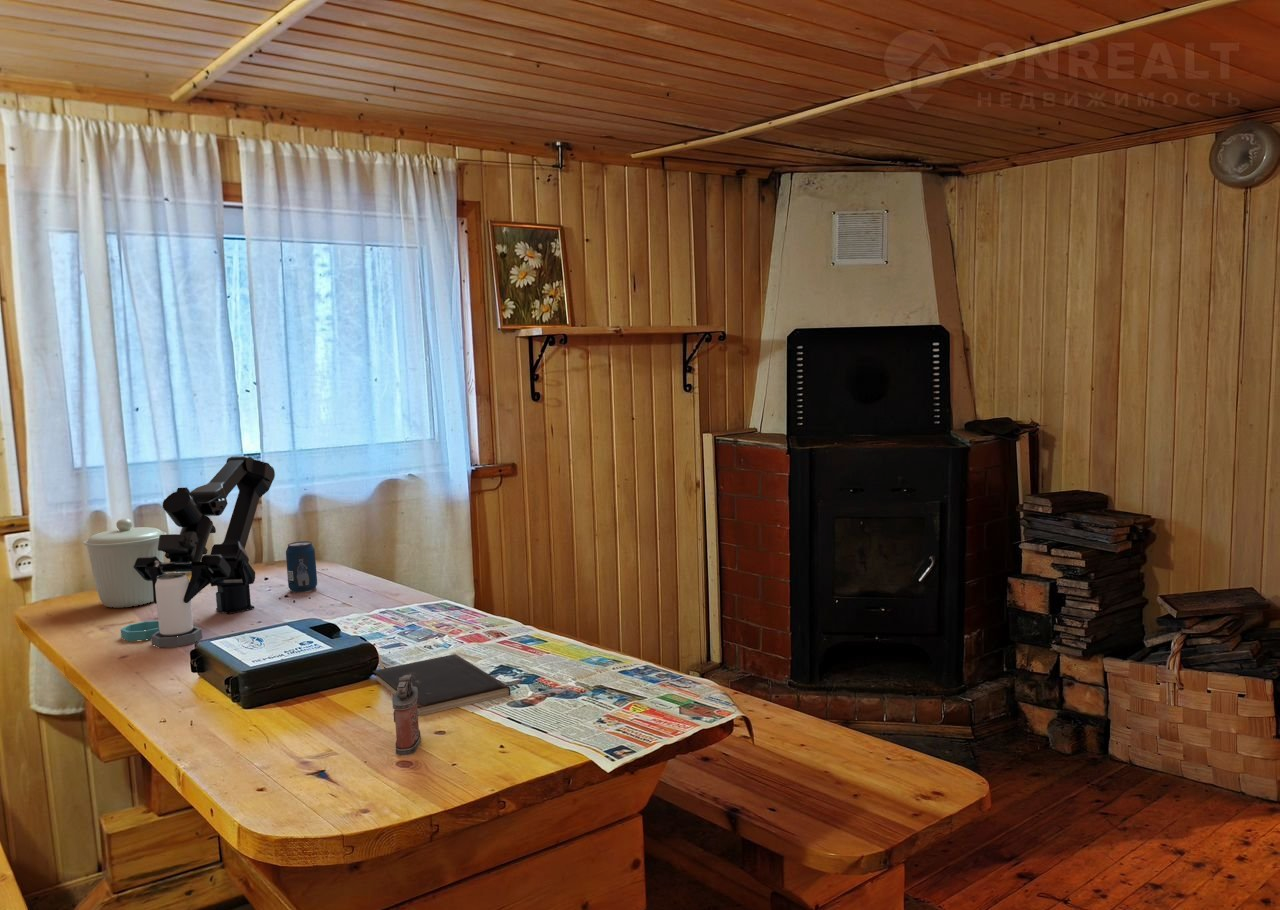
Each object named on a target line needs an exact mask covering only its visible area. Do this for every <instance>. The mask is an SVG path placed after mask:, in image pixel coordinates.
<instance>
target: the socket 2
mask: <svg viewBox="0 0 1280 910" xmlns="http://www.w3.org/2000/svg"><path fill="white" fill-rule="evenodd" d="M177 636H178V637H177ZM200 638H201V639H203V631H202V628H201V627H198V626H196V625H193V629H192V631H190V632H188V633H185V634H181V635H174V636H164V635H162V634H161V633H160V631H158V632H156V633H155V634H153V635H151V645H152V646H153V645H155V646H154V647H156V646H157V647H156V648H158V647H159V648H158V649H161V648H160V647H169V648H178V646H180V647H183V646H182V645H184V646H188V645H191V643H192V644H196V643H197V642H198V641H200V640H201V639H200ZM196 641H197V642H196ZM193 642H194V643H193ZM195 642H196V643H195ZM187 644H188V645H187Z"/></svg>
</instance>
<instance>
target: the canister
mask: <svg viewBox="0 0 1280 910" xmlns="http://www.w3.org/2000/svg"><path fill="white" fill-rule="evenodd" d="M115 525H116V528H115V529H111V530H105V531H102V532H98V533H95V534H92V535H91V536H90V537H89V538H88V539H86V540H84V541H83V544H84V546H86V547H87V553H88V558H89V562H90V565H91V570H92V574H93V579H94V583H95V587H96V590H97V595H98V597H99V600H100V602H101V603H102V605H104V606H105V607H109V608H112V607H113V609H115V608H118V609H121V608H122V609H123V608H124V607H125V608H132V606H134V607H138V605H140V606H143V604H144V605H148V604H150V602H151V603H154V600H153V583H152V581H147V580H144V579H143V577H142V576H141V575H140V574H139V573H138V572H137V571H136V570H135V568H134V567H133V566H134V564H135V561H136V559H137V558H139V557H151V556H156V557H157V558H158V559H159V561H160V562H164V560H165V559H164V557H165V552H163V551H158V543H159V536H160V535H168V534H167V532H166V531H162V530H161V529H159V528H156V527H151V526H150V527H142V526H141V527H133V521H132V520H131V519H130V518H120V519H119V520H117V522H116V524H115ZM147 603H148V604H147Z"/></svg>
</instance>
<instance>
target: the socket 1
mask: <svg viewBox="0 0 1280 910" xmlns="http://www.w3.org/2000/svg"><path fill="white" fill-rule="evenodd" d="M144 630H146V631H144ZM158 631H159V622H158V620H145V621H141V622H140V621H139V622H135V623H133V624H128V625H126V626H124V627H122V628H121V629H120V636H121V639H122V638H123V639H125V640H124V641H126V640H127V641H126V642H128V641H129V642H138V641H137V640H146V639H151V635H153V634H155V633H156V632H158ZM123 639H122V640H123ZM151 640H152V639H151ZM146 641H147V640H146Z"/></svg>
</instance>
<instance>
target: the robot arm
mask: <svg viewBox="0 0 1280 910" xmlns="http://www.w3.org/2000/svg"><path fill="white" fill-rule="evenodd" d="M275 476H276V472H275V469H274V467H273V466H272V465H271V464H270V463H269V462H265V461H262V460H258V459H254V458H252V457H250V456H248V455H238V456H237V455H233V456H230V457H228V458H227V460H226V462H225V464H224V465H223V466H222V468H221V469H220V470H219V471H218V472H217V473H216V474H215V475H214V477H213V478H211V480H210V481H209V482H208V483H206V484H203V485H201V486H197V487H195V488H193V490H192V491H190V490H189V488H188V487H178V488H176V491H173V492H172V493H171V494H169V495H168V496H166V498H164V500H162V501H163V502H162V509H163V510H164V512H166V514H167V515H168V517H169V518H170V519H171V520H172V521H173V523H174V524H175V525H176V526H177V527H179V528H181V529H180V531H179V534H178V533H177V534H175V533H174V534H172V533H171V534H169V533H168V534H167V535H160V536H159V543H158V551H163V552H164V557H165V558H166V559H169V561H168V562H167V561H163V562H160V561H159V559H158V558H157V557H156V556H151V557H139V558H137V559H136V561H135V564H134V566H133V567H134V568H135V570H136V571H137V572H138V573H139V574H140V575H141V576H142V577H143V579H144V580H147V581H152V583H153V600H154V601H153V603H154V604H155V605H157V602H156V591H155V584H156V581H157V577H158V576H160V575H163V574H168V573H191V577H190V580H189V584H188V587H187V590H186V593H185V596H184V602H185V603H188V602H189V601H190V600H191V601H192V599H193V598H194V597H196V596H197V595H198V594H199V593H200V592H201V591H202V590H203V589H205V588H206V587H207V586H209V585H210V586H211V587H216V588H217V591H216V592H215V601H216V608H215V610H216V611H217V612H219V613H222V614H227V615H230V613H231V614H234V613H233V612H235V613H239V612H238V611H240V612H243V611H242V610H244V611H248V610H247V609H249V610H252V608H253V609H255V605H252V602H251V592H250V591H251V590H250V585H252V584H254V583H255V581H256V580H255V579H256V571H255V570H254V569H253V567H252V566H251V565H250V563H249V561H250V559H249V556H248V553H247V551H246V546H247V542H248V540H249V535H250V532H251V528H252V524H253V521H254V518H255V515H256V511H257V508H258V505H259V501H260V499H261V497H262V496H264V495H265V494H266V493H268V492H269V490H270V488H271V486H272V483H273V481H274V480H275ZM236 486H237V490H238V494H237V497H236V501H235V504H234V507H233V510H232V514H231V517H230V520H229V523H228V527H227V530H226V533H225V535H224V540H223V542H222V543H221V544H220V543H217V544H213V546H212V547H211V551H210V554H208V551H209V550H208V549H207V547H206V546H207V543H208V540H209V537H210V534H216V533H217V532H216V531H217V530H216V529H217V528H216V527H215V525H214V522H213V521H212V519H210V517H219V516H221V515H222V514H223V513H224V511H225V509H226V507H227V506H228V503H229V502H228V500H227V497H228V496H229V494H231V492H232V491H233V489H234V488H235V487H236Z"/></svg>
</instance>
